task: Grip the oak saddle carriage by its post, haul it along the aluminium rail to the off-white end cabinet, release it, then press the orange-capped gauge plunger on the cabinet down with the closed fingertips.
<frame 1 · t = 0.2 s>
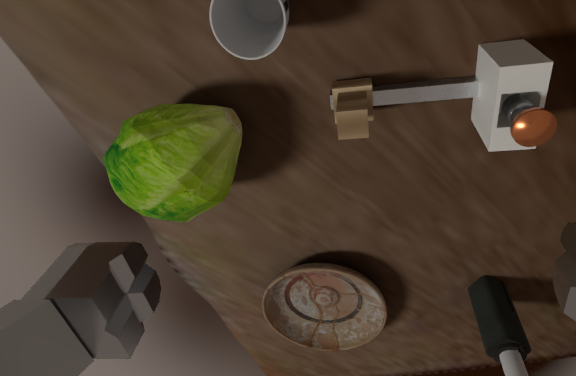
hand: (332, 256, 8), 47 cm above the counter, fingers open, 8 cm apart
plunger: (524, 116, 43), point 11 cm above the counter, slide at 0.0 cm
candle: (486, 286, 71), on the counter
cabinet: (495, 81, 51), on the counter
lettuce: (198, 133, 62), on the counter
cup: (265, 2, 50), on the counter
ceramic bowl: (324, 292, 79), on the counter
carriage: (352, 109, 51), point 5 cm above the counter, slide at -5.0 cm
rail: (400, 90, 54), on the counter
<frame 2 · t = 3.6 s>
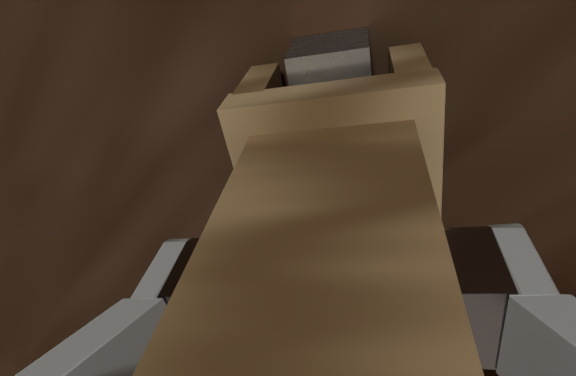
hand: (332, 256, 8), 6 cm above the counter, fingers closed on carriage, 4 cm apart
carriage: (334, 234, 9), point 5 cm above the counter, slide at -5.0 cm, touching gripper
rail: (358, 273, 16), on the counter
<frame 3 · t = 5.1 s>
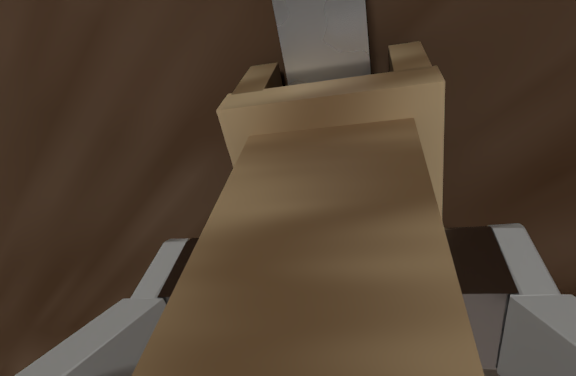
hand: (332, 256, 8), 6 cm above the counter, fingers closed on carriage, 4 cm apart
carriage: (334, 233, 9), point 5 cm above the counter, slide at 0.0 cm, touching gripper
rail: (346, 166, 13), on the counter
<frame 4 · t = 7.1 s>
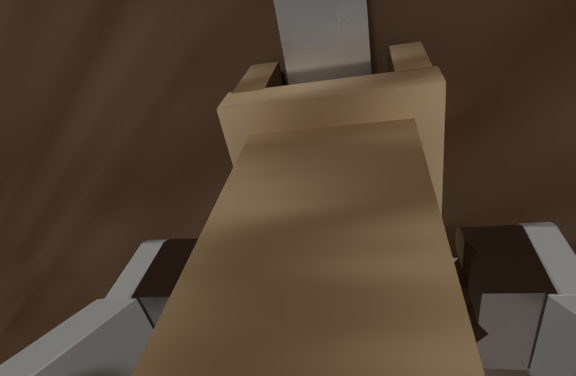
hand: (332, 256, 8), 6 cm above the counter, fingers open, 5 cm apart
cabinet: (362, 304, 17), on the counter
carriage: (334, 233, 9), point 5 cm above the counter, slide at 4.9 cm
rail: (327, 4, 11), on the counter
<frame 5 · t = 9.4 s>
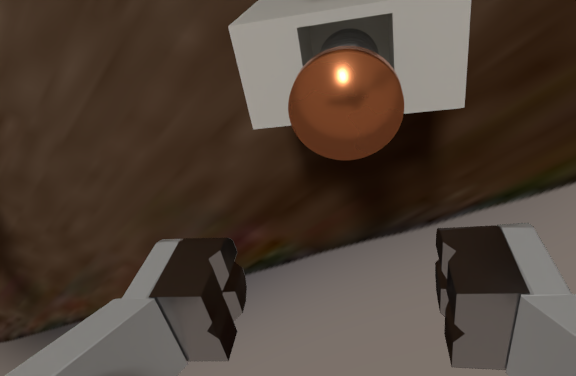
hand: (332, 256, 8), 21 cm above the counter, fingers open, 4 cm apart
plunger: (346, 81, 16), point 11 cm above the counter, slide at 0.0 cm
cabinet: (351, 22, 25), on the counter
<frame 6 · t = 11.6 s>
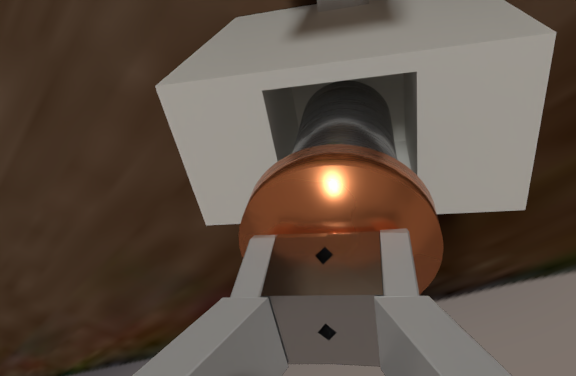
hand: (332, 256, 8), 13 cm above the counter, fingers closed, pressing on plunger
plunger: (342, 172, 10), point 10 cm above the counter, slide at -0.6 cm, touching gripper
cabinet: (350, 56, 19), on the counter
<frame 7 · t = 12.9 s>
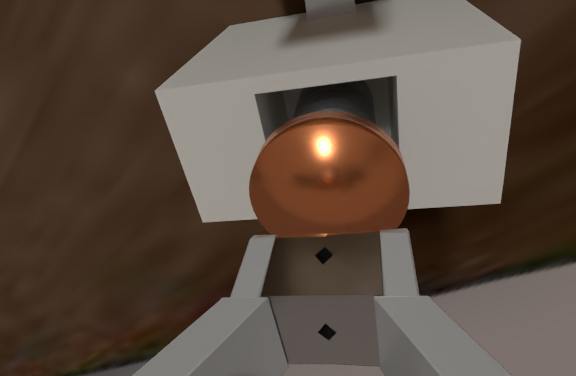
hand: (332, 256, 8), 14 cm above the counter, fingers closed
plunger: (331, 143, 13), point 9 cm above the counter, slide at -2.1 cm
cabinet: (339, 62, 20), on the counter
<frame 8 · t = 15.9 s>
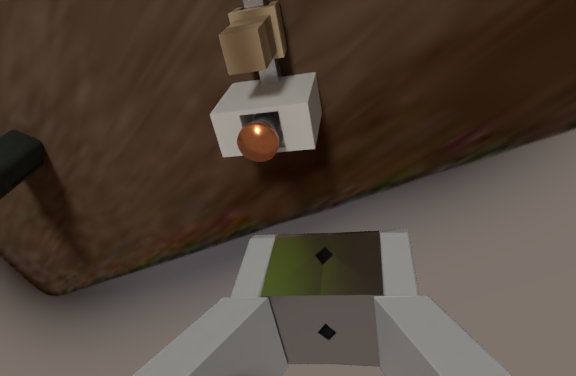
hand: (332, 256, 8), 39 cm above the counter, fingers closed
plunger: (263, 130, 41), point 9 cm above the counter, slide at -2.1 cm
candle: (27, 148, 58), on the counter
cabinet: (277, 98, 48), on the counter
carriage: (253, 39, 40), point 5 cm above the counter, slide at 4.9 cm
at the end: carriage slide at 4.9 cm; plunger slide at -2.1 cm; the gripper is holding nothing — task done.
